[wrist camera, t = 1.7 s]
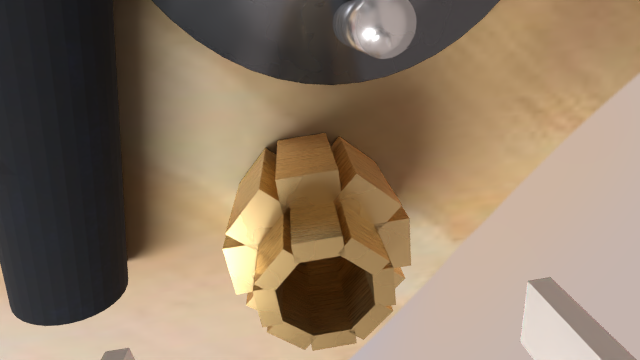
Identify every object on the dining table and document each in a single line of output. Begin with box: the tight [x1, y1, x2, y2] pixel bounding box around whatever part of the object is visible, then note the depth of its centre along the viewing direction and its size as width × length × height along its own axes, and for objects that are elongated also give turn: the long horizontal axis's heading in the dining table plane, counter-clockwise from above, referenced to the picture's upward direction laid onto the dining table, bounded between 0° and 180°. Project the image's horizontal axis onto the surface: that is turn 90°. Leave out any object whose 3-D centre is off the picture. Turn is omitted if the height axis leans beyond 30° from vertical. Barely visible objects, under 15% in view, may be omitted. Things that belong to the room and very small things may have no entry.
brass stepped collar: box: [223, 133, 411, 351], centre depth 17 cm, size 8×8×8 cm
